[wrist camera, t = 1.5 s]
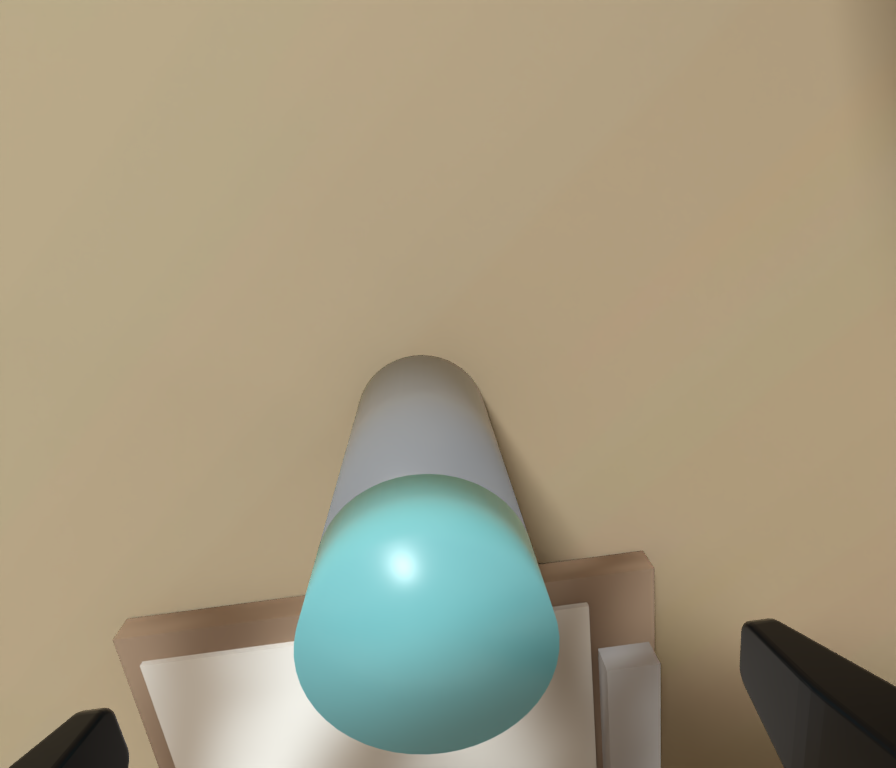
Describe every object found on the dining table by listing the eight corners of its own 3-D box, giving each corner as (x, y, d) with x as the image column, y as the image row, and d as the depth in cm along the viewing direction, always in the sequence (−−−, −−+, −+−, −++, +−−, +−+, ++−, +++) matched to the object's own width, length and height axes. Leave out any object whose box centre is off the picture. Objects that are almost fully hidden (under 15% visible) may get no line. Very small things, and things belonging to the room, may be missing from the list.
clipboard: (643, 551, 20) (666, 587, 18) (646, 799, 24) (665, 851, 22) (127, 618, 20) (96, 663, 18) (211, 859, 24) (193, 917, 22)
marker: (478, 347, 18) (551, 520, 8) (490, 465, 19) (565, 736, 9) (348, 363, 18) (267, 558, 8) (368, 481, 19) (320, 770, 9)
